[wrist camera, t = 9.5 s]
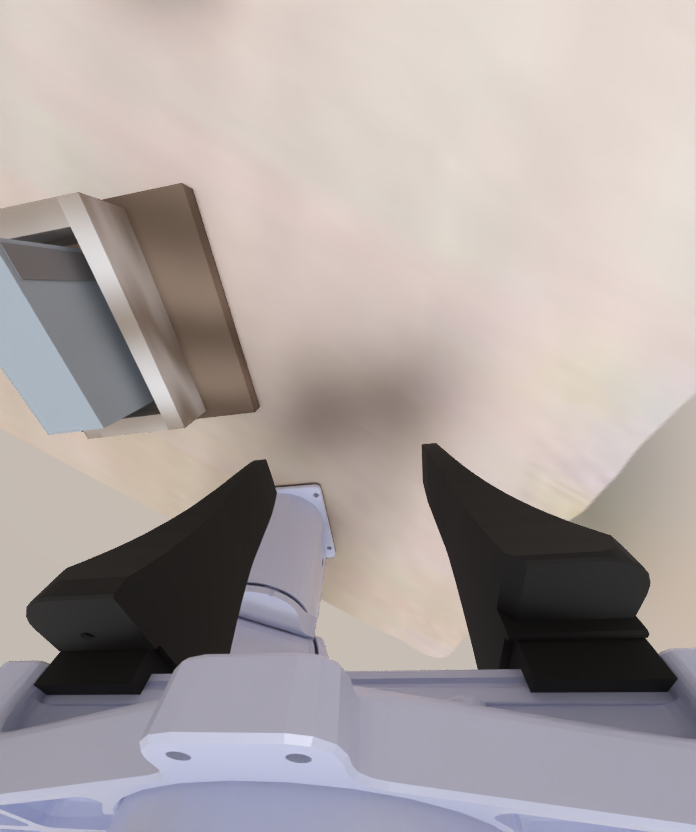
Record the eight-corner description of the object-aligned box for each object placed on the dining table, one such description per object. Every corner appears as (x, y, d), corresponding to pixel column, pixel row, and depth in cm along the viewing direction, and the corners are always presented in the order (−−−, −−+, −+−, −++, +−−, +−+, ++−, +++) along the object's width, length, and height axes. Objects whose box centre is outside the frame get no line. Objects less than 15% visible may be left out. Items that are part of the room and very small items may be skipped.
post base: (259, 406, 22) (240, 429, 18) (92, 426, 23) (45, 450, 20) (192, 188, 16) (144, 161, 12) (-26, 234, 17) (-122, 220, 14)
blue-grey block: (173, 390, 20) (105, 428, 15) (129, 396, 21) (46, 434, 15) (113, 253, 16) (-10, 235, 11) (59, 263, 17) (-84, 251, 11)
